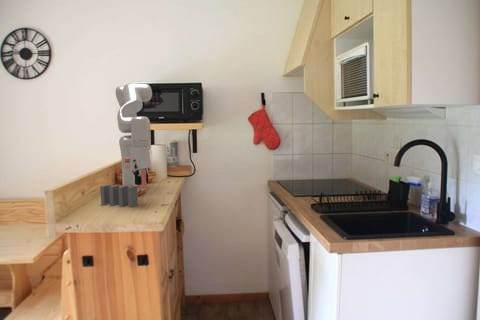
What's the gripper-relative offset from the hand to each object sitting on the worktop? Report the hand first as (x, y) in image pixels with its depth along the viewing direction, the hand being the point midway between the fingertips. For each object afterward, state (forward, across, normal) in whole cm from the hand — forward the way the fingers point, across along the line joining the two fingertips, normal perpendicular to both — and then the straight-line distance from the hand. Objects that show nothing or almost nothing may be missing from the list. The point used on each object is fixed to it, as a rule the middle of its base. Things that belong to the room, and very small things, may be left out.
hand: (141, 183), depth 168 cm
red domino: (+2, 0, 0) cm, 2 cm away
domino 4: (+11, 0, -5) cm, 12 cm away
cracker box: (+11, -22, -18) cm, 31 cm away
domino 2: (+11, 0, -15) cm, 19 cm away
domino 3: (+11, 0, -10) cm, 15 cm away
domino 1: (+11, 0, -20) cm, 23 cm away
